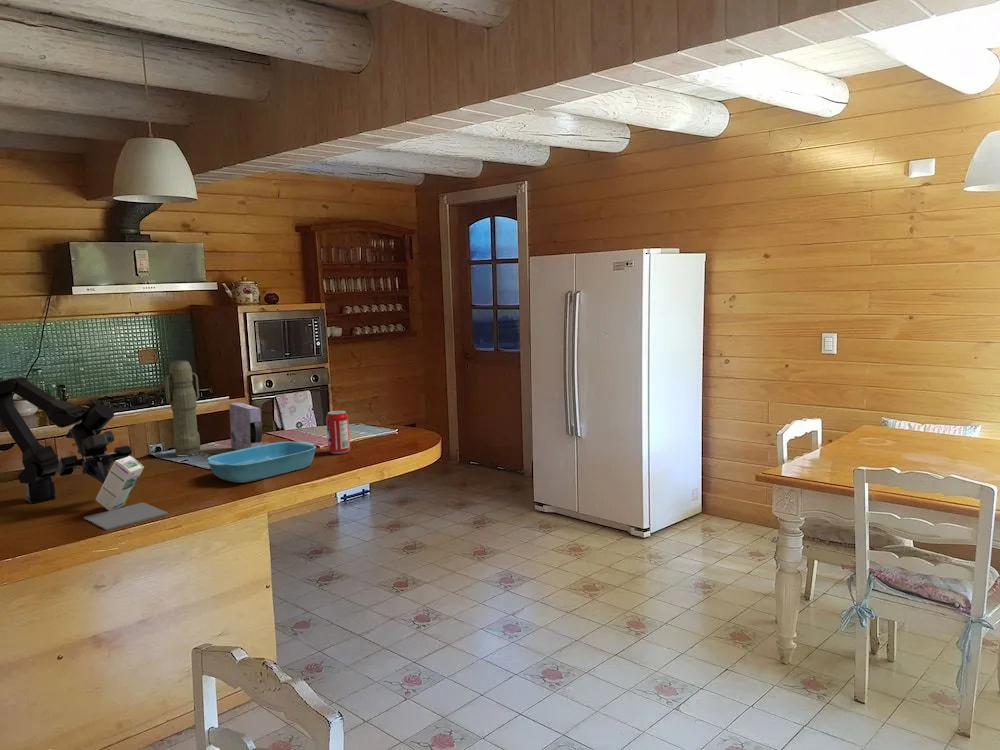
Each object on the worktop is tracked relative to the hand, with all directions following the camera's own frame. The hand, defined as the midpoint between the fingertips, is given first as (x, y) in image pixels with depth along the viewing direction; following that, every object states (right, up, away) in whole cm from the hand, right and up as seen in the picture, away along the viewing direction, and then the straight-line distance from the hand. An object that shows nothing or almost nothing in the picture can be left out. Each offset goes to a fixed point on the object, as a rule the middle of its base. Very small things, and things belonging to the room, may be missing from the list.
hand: (106, 483), depth 208 cm
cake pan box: (+17, +2, +67) cm, 69 cm away
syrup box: (0, -6, +1) cm, 6 cm away
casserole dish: (+33, -2, +37) cm, 49 cm away
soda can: (+53, +2, +60) cm, 80 cm away
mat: (+9, -8, -7) cm, 14 cm away
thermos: (-5, +1, +66) cm, 66 cm away
